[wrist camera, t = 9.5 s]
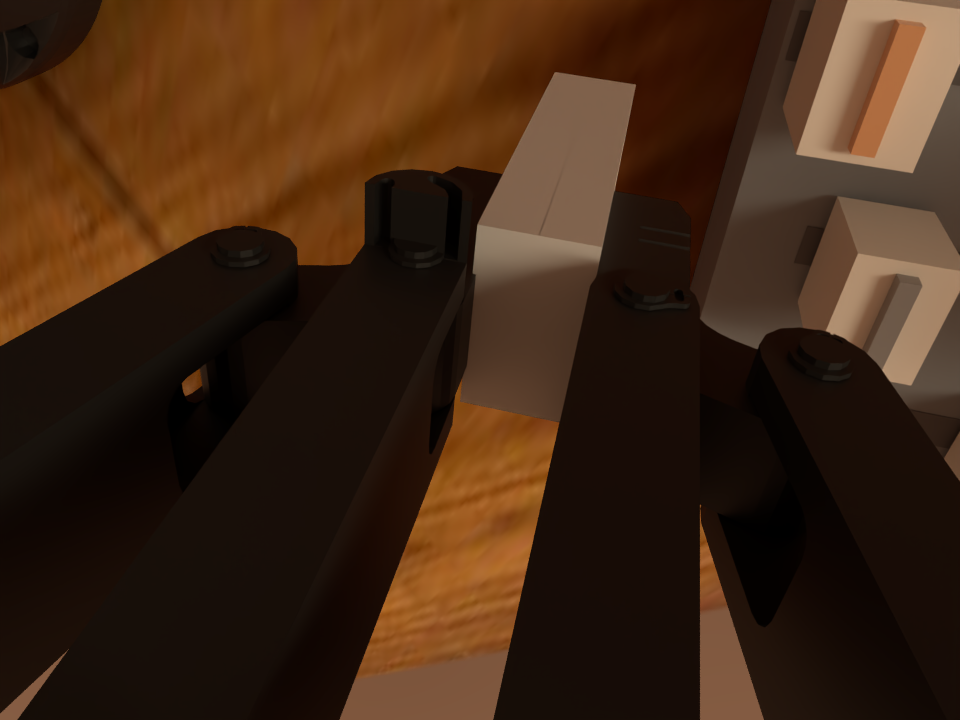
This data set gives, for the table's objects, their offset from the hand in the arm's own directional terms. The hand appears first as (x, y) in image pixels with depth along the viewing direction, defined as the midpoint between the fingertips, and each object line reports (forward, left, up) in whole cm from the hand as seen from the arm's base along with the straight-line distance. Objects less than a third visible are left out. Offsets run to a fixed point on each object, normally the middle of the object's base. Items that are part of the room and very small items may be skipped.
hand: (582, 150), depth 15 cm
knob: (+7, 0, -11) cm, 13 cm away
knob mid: (+9, -6, -11) cm, 16 cm away
